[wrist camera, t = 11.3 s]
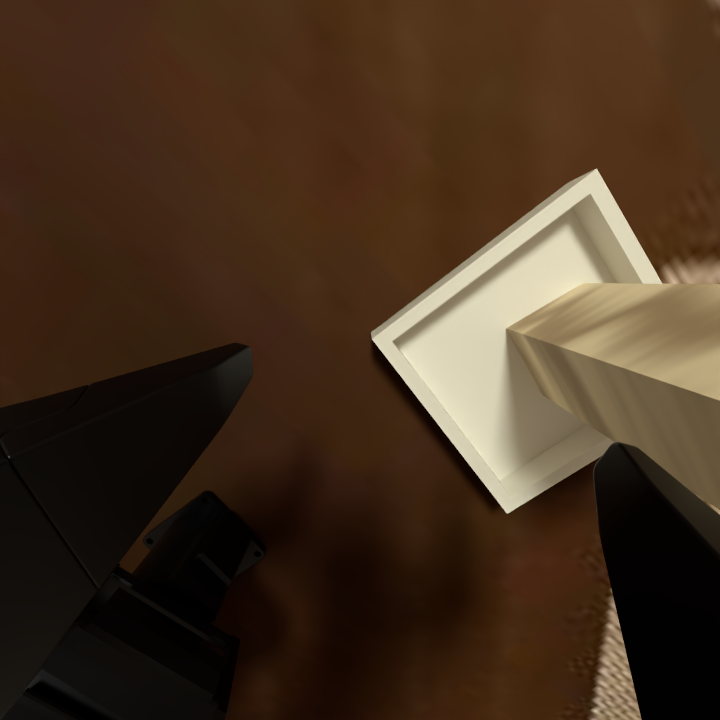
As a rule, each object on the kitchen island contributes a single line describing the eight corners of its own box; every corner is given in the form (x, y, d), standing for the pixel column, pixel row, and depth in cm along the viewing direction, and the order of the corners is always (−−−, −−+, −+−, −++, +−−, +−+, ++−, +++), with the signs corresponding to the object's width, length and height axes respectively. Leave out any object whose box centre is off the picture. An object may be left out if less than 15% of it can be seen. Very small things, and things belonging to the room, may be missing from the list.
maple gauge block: (542, 394, 22) (795, 558, 9) (505, 328, 21) (731, 404, 8) (616, 353, 21) (1008, 467, 8) (583, 283, 20) (965, 286, 7)
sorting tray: (492, 489, 24) (507, 513, 21) (371, 332, 21) (371, 339, 19) (679, 372, 22) (719, 383, 19) (567, 182, 19) (596, 168, 17)
